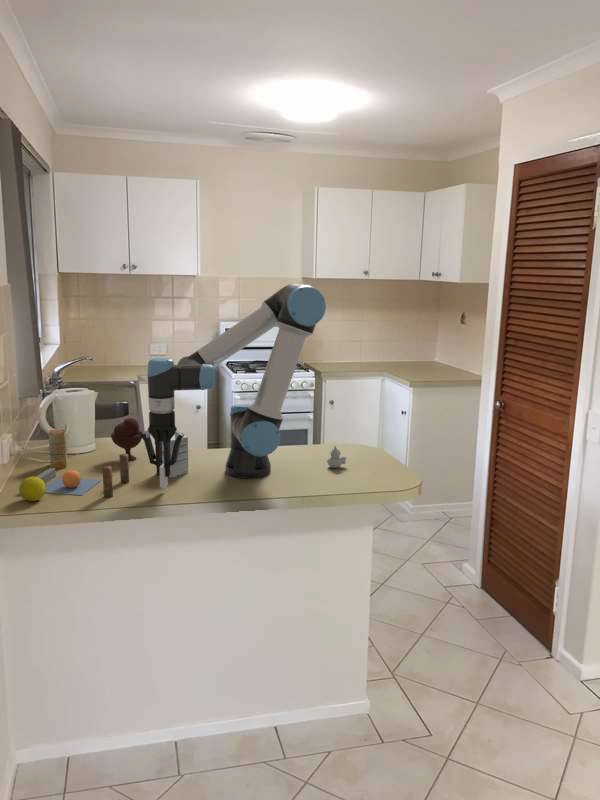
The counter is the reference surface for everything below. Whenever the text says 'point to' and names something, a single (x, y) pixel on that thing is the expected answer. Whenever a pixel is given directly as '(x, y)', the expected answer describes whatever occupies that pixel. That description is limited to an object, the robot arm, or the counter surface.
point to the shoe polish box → (58, 448)
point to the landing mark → (60, 488)
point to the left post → (107, 482)
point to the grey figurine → (336, 458)
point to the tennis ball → (32, 489)
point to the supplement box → (182, 458)
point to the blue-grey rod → (47, 475)
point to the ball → (71, 479)
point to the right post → (124, 468)
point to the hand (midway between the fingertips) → (163, 486)
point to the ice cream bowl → (127, 436)
